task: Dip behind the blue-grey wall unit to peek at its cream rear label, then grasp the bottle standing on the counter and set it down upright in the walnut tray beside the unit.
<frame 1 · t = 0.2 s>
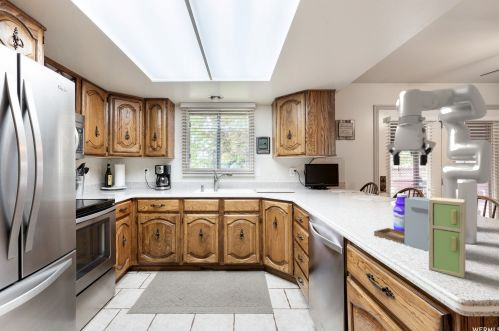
hand: (409, 165, 92), 31 cm above the counter, fingers open, 9 cm apart
grey post: (465, 241, 94), on the counter
bottle: (402, 231, 108), on the counter
unit: (427, 247, 87), on the counter
tray: (394, 237, 100), on the counter
toy refrigerator: (446, 271, 69), on the counter
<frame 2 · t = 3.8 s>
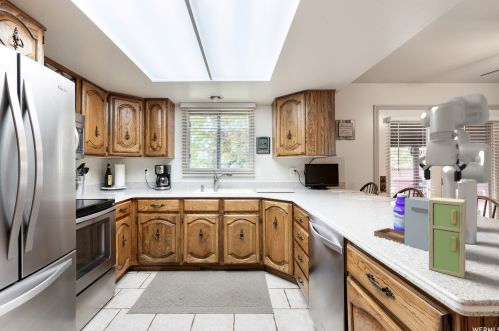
hand: (441, 180, 93), 25 cm above the counter, fingers open, 9 cm apart
nothing on the counter moved.
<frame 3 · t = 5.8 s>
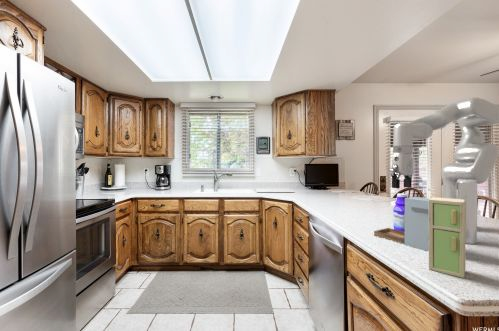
hand: (401, 187, 108), 20 cm above the counter, fingers open, 9 cm apart
nothing on the counter moved.
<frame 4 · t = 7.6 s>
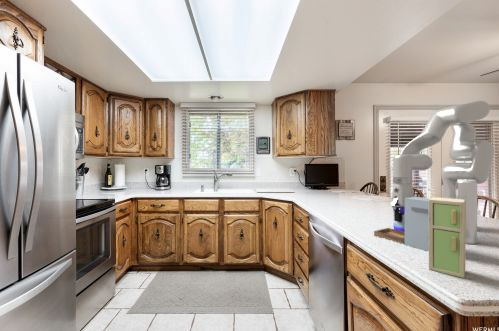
hand: (402, 220, 108), 5 cm above the counter, fingers closed on bottle, 5 cm apart
bottle: (402, 231, 108), on the counter, touching gripper
everything else where it was.
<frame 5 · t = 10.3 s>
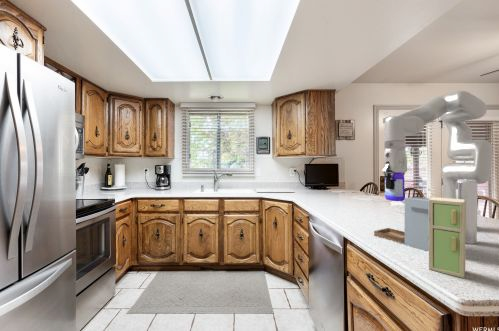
hand: (394, 188, 99), 21 cm above the counter, fingers closed on bottle, 5 cm apart
bottle: (394, 200, 99), point 16 cm above the counter, touching gripper
everything else where it was.
when the fingers open (7 cm above the counter, at t = 13.2 s): bottle drops 1 cm, resting on tray.
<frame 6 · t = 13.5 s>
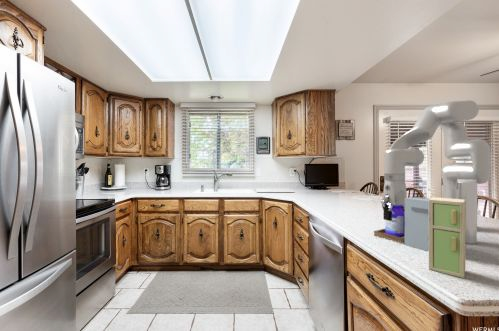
hand: (394, 218, 99), 8 cm above the counter, fingers open, 9 cm apart
bottle: (394, 236, 100), resting on tray
everything else where it was.
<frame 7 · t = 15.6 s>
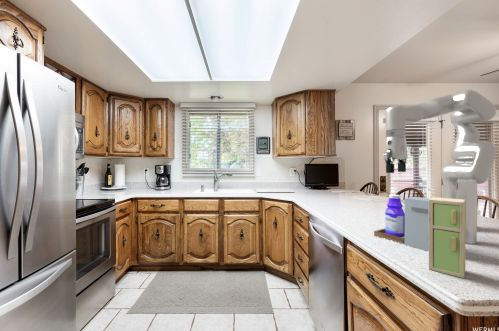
hand: (396, 172, 106), 27 cm above the counter, fingers open, 9 cm apart
nothing on the counter moved.
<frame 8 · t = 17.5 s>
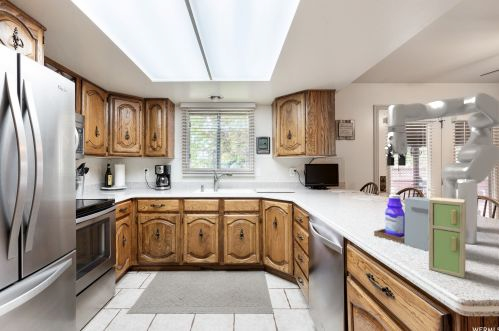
hand: (396, 165, 114), 30 cm above the counter, fingers open, 9 cm apart
nothing on the counter moved.
at the end: bottle inside the target area on the tray (0.4 cm from its centre), point 0.4 cm above the tray's base; bottle tilted 0°; the gripper is holding nothing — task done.
